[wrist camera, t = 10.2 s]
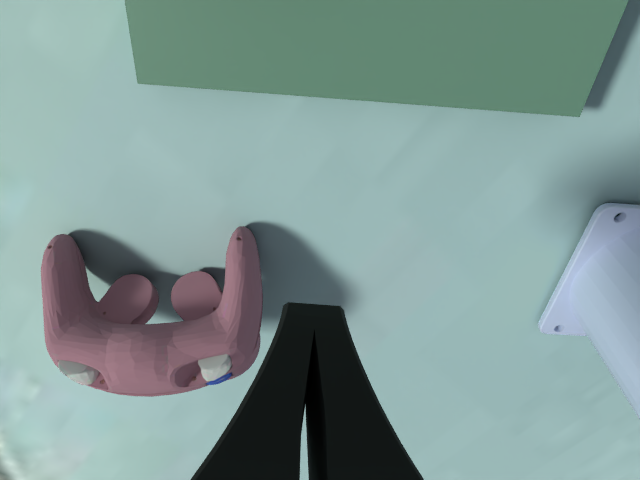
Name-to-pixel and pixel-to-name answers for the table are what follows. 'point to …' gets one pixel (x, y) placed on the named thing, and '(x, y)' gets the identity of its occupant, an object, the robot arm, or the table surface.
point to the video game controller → (152, 339)
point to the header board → (381, 49)
